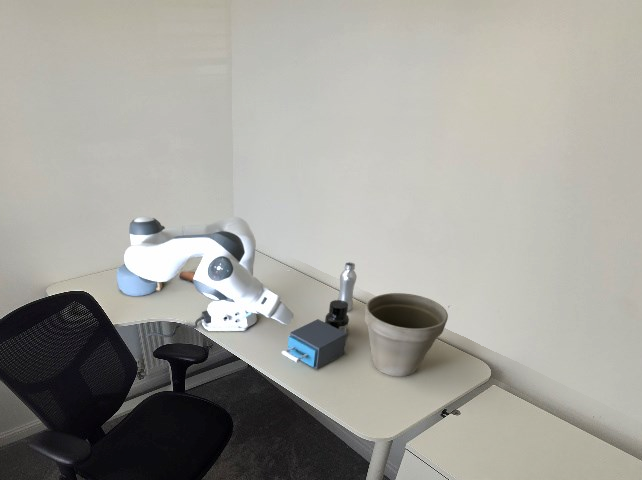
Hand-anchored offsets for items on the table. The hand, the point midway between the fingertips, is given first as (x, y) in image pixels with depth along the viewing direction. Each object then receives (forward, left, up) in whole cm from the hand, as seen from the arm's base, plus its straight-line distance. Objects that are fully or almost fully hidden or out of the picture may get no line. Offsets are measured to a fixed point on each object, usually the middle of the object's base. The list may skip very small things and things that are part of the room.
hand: (275, 315), depth 133 cm
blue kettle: (-44, +80, -24) cm, 94 cm away
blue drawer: (+15, +8, -22) cm, 28 cm away
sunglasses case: (-17, +81, -24) cm, 86 cm away
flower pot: (+43, -1, -24) cm, 49 cm away
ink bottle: (+31, +24, -24) cm, 45 cm away
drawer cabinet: (+19, +11, -23) cm, 32 cm away
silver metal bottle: (+41, +41, -24) cm, 62 cm away
